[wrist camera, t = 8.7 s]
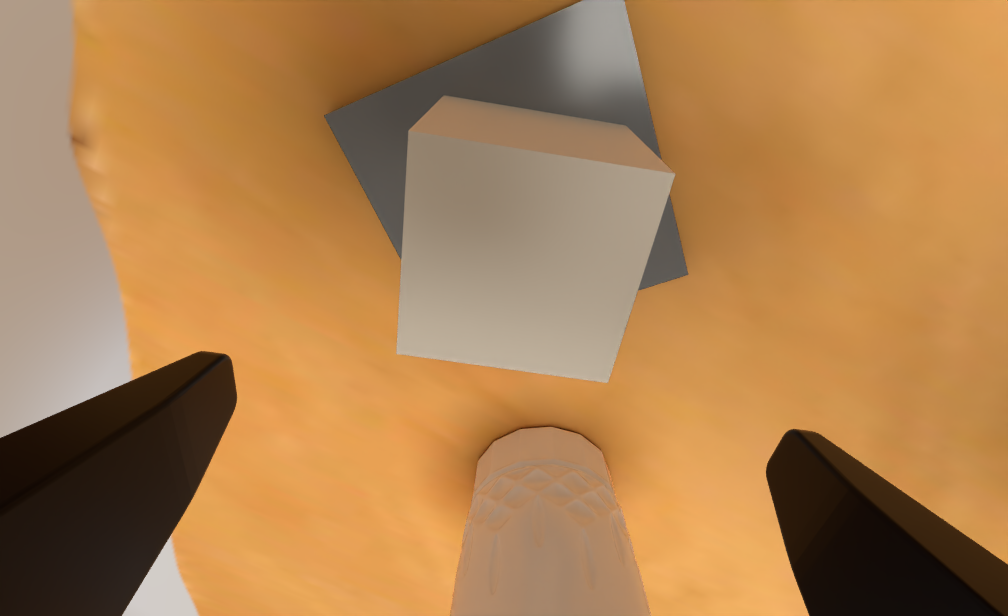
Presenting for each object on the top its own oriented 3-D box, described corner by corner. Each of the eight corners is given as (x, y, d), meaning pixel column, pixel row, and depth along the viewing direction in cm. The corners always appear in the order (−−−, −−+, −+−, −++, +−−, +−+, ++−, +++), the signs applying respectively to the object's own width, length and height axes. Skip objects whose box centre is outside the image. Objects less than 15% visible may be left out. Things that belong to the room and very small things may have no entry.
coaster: (683, 268, 20) (688, 274, 19) (451, 342, 22) (449, 350, 21) (617, -16, 15) (620, -17, 14) (329, 112, 17) (323, 115, 17)
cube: (625, 125, 16) (675, 173, 11) (584, 286, 19) (608, 383, 14) (444, 95, 16) (408, 130, 11) (429, 262, 19) (396, 353, 14)
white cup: (562, 541, 28) (581, 773, 20) (438, 490, 26) (398, 720, 18) (652, 456, 25) (724, 692, 16) (516, 390, 23) (515, 616, 14)
